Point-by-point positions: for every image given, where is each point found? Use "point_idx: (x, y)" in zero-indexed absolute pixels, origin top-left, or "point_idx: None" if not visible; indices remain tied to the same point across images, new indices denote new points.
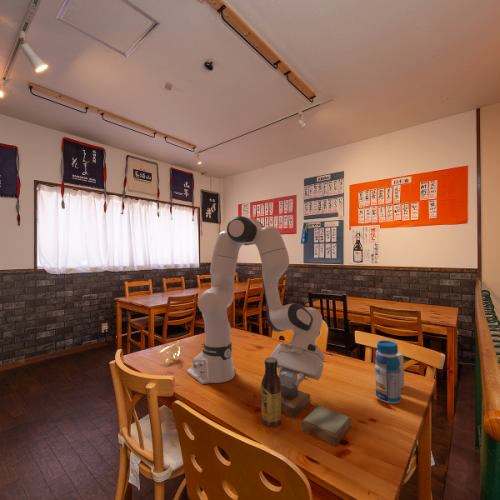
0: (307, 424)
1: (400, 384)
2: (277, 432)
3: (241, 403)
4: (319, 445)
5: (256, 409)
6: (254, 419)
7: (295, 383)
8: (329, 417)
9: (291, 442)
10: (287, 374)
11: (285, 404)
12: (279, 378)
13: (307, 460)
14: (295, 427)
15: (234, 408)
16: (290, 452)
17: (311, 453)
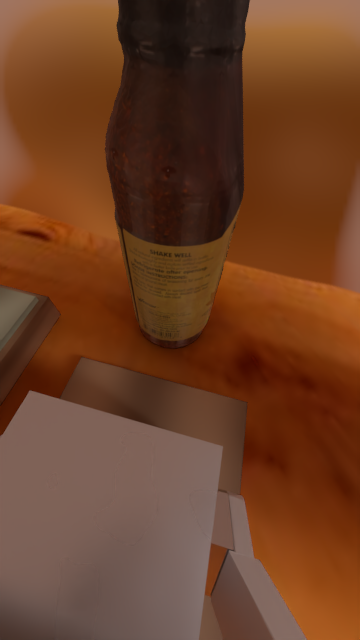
0: (24, 291)
1: None
2: None
3: (334, 381)
4: (6, 274)
5: (255, 365)
6: (227, 310)
7: None
8: None
9: (89, 263)
10: (90, 452)
11: (128, 372)
12: (112, 136)
13: (46, 231)
14: (82, 319)
15: (327, 339)
16: (88, 238)
17: (34, 247)
